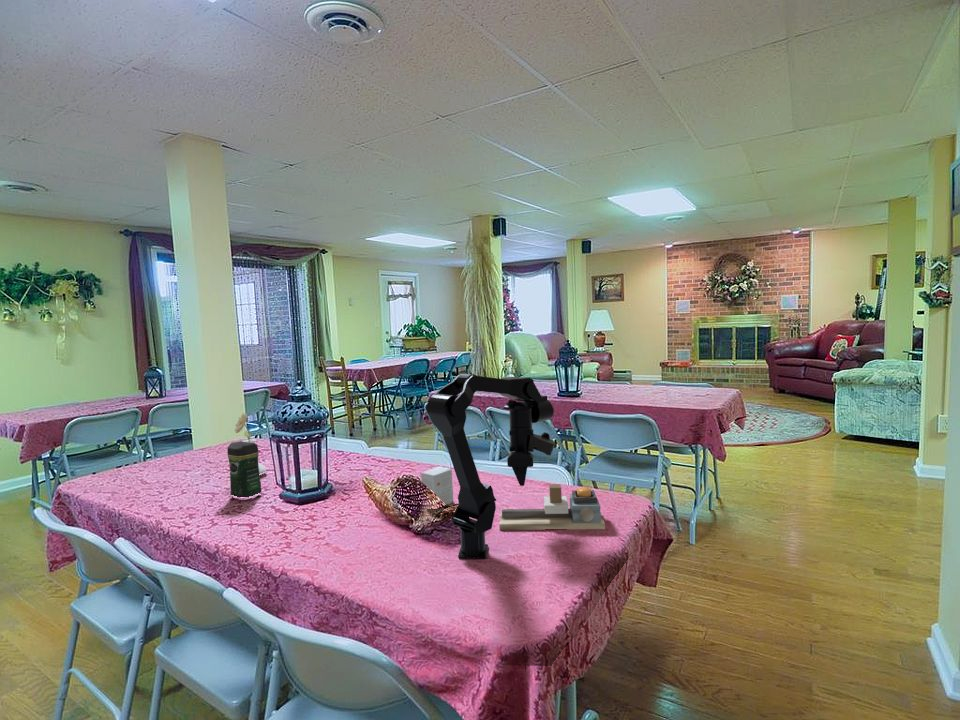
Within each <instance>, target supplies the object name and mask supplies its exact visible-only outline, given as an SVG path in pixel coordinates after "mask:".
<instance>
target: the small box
mask: <svg viewBox="0 0 960 720" xmlns="http://www.w3.org/2000/svg"><path fill="white" fill-rule="evenodd" d="M420 476H421V477H420V479H421V483H422V482H423V483H424V484H425V485H426V486H427V487H428V488H430V489H431V490H432V491H433V492H434V493H435V494H436V495H437V496H438V497H439V498H440V499H441V500H442V501H443V502H444V503H445V504H448V505H451V504H452V503H454V487H453V486H454V485H453V469H452V468H449V467H444V466H440V465H439V466H436V467H433V468H431V469H428V470H425V471H422V472H421V473H420Z"/></svg>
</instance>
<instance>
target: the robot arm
mask: <svg viewBox="0 0 960 720" xmlns="http://www.w3.org/2000/svg"><path fill="white" fill-rule="evenodd" d="M476 392H483V393H496V394H499V395H501V396H503V397H505V398H508V402H506V403H505V405H504V406H503V410H507V411H509V431H508V433H509V444H510V445H509V452H510V453H509V454H508V455H507V460H506V461H507V467H508V468H512V470H513V473H514V475H515V477H516V480H517V483H518V484H519V486H520V487H524V486H525V482H526V479H527V478H526V477H527V472H528V471H527V470H528V468H533V467H534V454H532V453H534V451H535V450H536V451H538V452H540V453H543V454H545V455H547V456H552V453H553V450H554V448H555V445H556V443H555V440H554V439H552V438H550V437H551V436H550V433H548V432H545V431H544V432H543V433H542V434H536V433H534V429H533V424H536V423H541V422H545V421H549V420H551V419H552V418H553V416H554V412H555V409H554V406H553V404H552V402H551V401H549V400H548V395H542V394H541V393H540V391H539V389H538V387H537V386H536V384H535V382H534V379H533V378H531V377H524V376H509V377H508V376H506V377H502V378H499V377H491V376H490V377H489V376H481V375H476V374H474V373H460V374H458V375H456V377H454V379H453V380H452V381H450V382H448V383H447V384H445V385H444V386H443V387H441V388H440V389H439V390H438V391H437V392H436V393H435V394H432V395H431V396H430V397H429V399H428V401H427V403H426V404H425V409H426V413H427V415H428V417H429V419H430V421H431V423H432V424H433V425H434V427H435V428H436V429H437V430H438V431H439V432H440V433H441V434H442V437H443V440H444V443H445V445H446V449H447V452H448V455H449V457H450V461H451V463H452V466H453V470H454V473H455V476H456V478H457V479H456V480H457V482H458V485H459V487H460V488H459V491H458V494H457V499H458V500H457V501H458V505H457V507H456V508H455V510H454V512H453V513H452V516H451V518H450V519H451V523H452V525H453V527H457V528H459V529H460V530H459V531H460V548H459V551H458V557H457V558H458V559H487V556H488V549H489V544H488V543H487V544H486V534H485V533H486V532H487V531H489V530H491V529H492V528H493V523H494V518H495V514H496V510H497V509H496V508H497V505H496V501H497V499H496V497H495V495H494V489H493V487H492V485H490V484H486V483H482V481H481V479H480V475H479V472H478V470H477V467H476V463H475V460H474V457H473V454H472V451H471V448H470V444H469V441H468V439H467V435H466V432H465V429H464V428H465V424H466V421H467V412H466V411H467V409H468V408H469V406H471V404H472V402H473V399H474V395H475V393H476Z"/></svg>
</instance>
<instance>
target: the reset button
mask: <svg viewBox="0 0 960 720" xmlns="http://www.w3.org/2000/svg"><path fill="white" fill-rule="evenodd" d="M591 490H592V489H591V488H589V487H579V488H577V489H576V491H577V497H591Z"/></svg>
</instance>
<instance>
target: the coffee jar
mask: <svg viewBox="0 0 960 720" xmlns="http://www.w3.org/2000/svg"><path fill="white" fill-rule="evenodd" d="M242 441H243V440H239V441H234V442H232V443H229V445H228V446H227V458H228V464H229V479H230V480H229V481H230V496H231V495H234V496H237V497H249V496H253V495H255V494H258V493H260V492H261V491H262V483H261V476H260V475H259V465H258V463H259V447H258V444H257V443H256V442H255V443H249V442H242Z"/></svg>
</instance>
